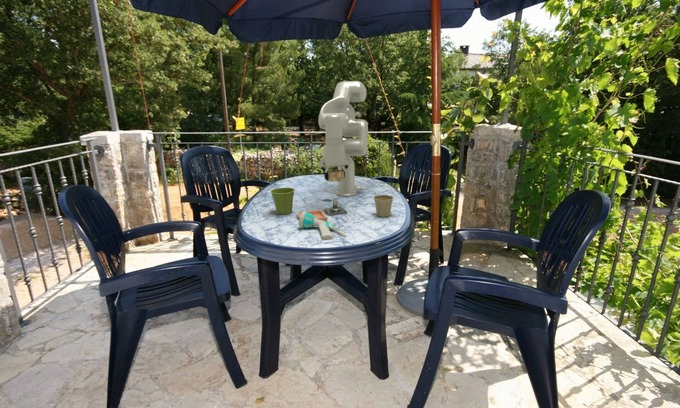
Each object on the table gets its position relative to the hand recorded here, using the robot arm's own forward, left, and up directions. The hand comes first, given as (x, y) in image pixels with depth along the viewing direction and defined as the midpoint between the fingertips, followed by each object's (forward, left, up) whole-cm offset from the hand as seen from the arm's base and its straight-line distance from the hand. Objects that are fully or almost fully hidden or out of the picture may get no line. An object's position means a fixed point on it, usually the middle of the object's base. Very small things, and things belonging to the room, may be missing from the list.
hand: (334, 179), depth 165 cm
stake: (0, 0, -16) cm, 16 cm away
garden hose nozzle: (+13, +23, -17) cm, 31 cm away
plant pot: (+24, -7, -16) cm, 30 cm away
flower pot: (-20, +12, -16) cm, 28 cm away
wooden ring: (0, 0, 0) cm, 0 cm away
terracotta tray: (+13, +7, -16) cm, 22 cm away
